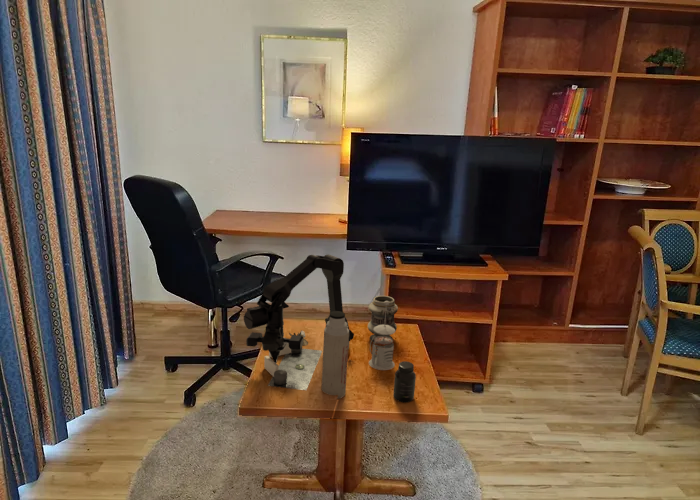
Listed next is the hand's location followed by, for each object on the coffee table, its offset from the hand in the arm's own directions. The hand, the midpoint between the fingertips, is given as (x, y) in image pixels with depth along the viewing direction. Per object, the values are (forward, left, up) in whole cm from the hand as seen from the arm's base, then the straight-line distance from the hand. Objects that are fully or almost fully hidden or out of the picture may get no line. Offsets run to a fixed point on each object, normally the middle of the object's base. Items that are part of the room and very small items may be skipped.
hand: (275, 363), depth 167 cm
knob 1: (0, -13, -2) cm, 13 cm away
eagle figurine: (-4, -23, -5) cm, 24 cm away
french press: (-36, -16, -4) cm, 39 cm away
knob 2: (-1, +4, -2) cm, 5 cm away
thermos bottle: (-22, +7, -4) cm, 23 cm away
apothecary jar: (-35, -38, -4) cm, 51 cm away
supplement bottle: (-45, +5, -4) cm, 45 cm away
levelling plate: (-7, -4, -4) cm, 9 cm away
